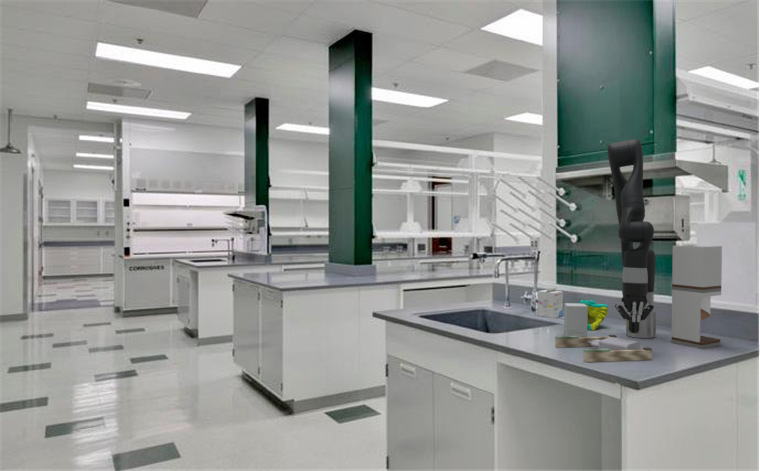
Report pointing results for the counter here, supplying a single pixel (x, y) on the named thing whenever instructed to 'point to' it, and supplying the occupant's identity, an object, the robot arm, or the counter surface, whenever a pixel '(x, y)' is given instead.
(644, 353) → the railed run
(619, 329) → the counter surface
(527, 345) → the counter surface
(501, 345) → the counter surface
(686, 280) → the coffee maker
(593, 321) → the organ model
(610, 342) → the charger
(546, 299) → the ink box
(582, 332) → the supplement box
